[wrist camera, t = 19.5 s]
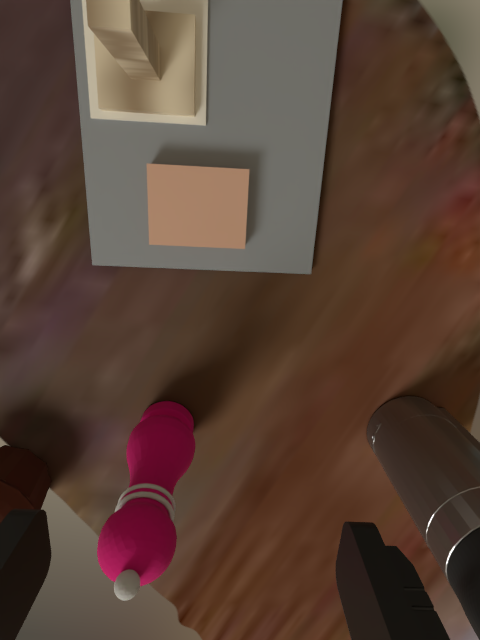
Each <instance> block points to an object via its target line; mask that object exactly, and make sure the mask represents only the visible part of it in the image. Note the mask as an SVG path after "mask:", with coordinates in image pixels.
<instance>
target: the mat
mask: <svg viewBox="0 0 480 640" xmlns="http://www.w3.org/2000/svg"><path fill="white" fill-rule="evenodd" d="M342 1H343V0H208V33H207V91H206V126H203V125H187V124H171V123H155V122H139V121H123V120H107V119H92V118H91V117H90V104H89V90H88V77H87V64H86V50H85V37H84V24H83V10H82V0H70V2H71V14H72V26H73V38H74V50H75V62H76V74H77V86H78V98H79V110H80V122H81V134H82V146H83V158H84V170H85V182H86V194H87V206H88V218H89V230H90V242H91V255H92V265H104V266H128V267H152V268H176V269H200V270H224V271H248V272H272V273H296V274H311V270H312V261H313V252H314V244H315V235H316V226H317V218H318V209H319V200H320V192H321V183H322V174H323V166H324V157H325V148H326V140H327V131H328V122H329V114H330V105H331V96H332V88H333V79H334V70H335V62H336V53H337V44H338V36H339V27H340V18H341V10H342ZM147 163H148V164H165V165H183V166H200V167H218V168H236V169H249V186H248V205H247V223H246V242H245V249H234V248H212V247H190V246H168V245H149V225H148V193H147Z"/></svg>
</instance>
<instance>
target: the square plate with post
mask: <svg viewBox="0 0 480 640" xmlns="http://www.w3.org/2000/svg"><path fill="white" fill-rule="evenodd" d="M86 8H87V22H88V27H89V28H90V29H91V30H92V32H93V33H94V46H95V62H96V77H97V93H98V108H99V109H101V110H102V111H117V112H131V113H146V114H160V115H175V116H190V117H195V74H196V16H195V14H183V13H171V12H159V11H147V10H144V9H143V7H142V5H141V3H140V0H86Z"/></svg>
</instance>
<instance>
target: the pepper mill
mask: <svg viewBox="0 0 480 640" xmlns="http://www.w3.org/2000/svg"><path fill="white" fill-rule="evenodd" d="M193 428H194V421H193V417H192V415H191V413H190V412H189V411H188V410H187V409H186V408H185V407H184V406H182V405H180V404H178V403H176V402H171V401H162V402H158V403H155V404H153V405H151V406H150V407H149V408H147V409H146V411H145V412H144V414H143V416H142V418H141V421H140V423H139V424H138V425H137V426H136V427H135V428H134V429H133V431H132V433H131V435H130V437H129V441H128V445H127V462H128V466H129V470H130V485H129V488H128V489H126V490H125V491H124V492H123V493H122V495H121V496H120V498H119V500H118V505H117V507H116V509H115V513H114V514H112V515H111V516H110V517H109V518H108V520H107V521H106V523H105V525H104V526H103V528H102V530H101V534H100V537H99V540H98V548H97V555H98V562H99V564H100V566H101V569H102V571H103V572H104V573H105V574H106V575H107V577H109V578H110V579H111V580H112V581H114V582H115V584H114V591H115V594H116V596H117V597H118V598H119V599H121V600H130V599H131V598H133V597H134V596H135V595H136V594H137V592H138V590H139V588H140V586H143V585H146V584H148V583H151V582H152V581H154V580H155V579H157V578H158V577H159V576H160V575H161V574H162V573H163V572H164V571H165V570H166V569H167V567H168V566H169V564H170V562H171V560H172V558H173V555H174V552H175V548H176V539H177V536H176V529H175V526H174V524H173V520H174V513H175V509H176V507H175V501H174V499H173V497H172V494H173V490H174V487H175V485H176V483H177V481H178V480H179V479H180V478H181V477H182V476H183V475H184V473H185V472H186V471H187V469H188V468H189V466H190V464H191V462H192V460H193V456H194V452H195V439H194V436H193Z"/></svg>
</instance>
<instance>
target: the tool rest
mask: <svg viewBox="0 0 480 640" xmlns="http://www.w3.org/2000/svg"><path fill="white" fill-rule="evenodd" d="M140 3H141V5H142V7H143V9H144V10H147V11H159V12H171V13H183V14H195V16H196V74H195V117H190V116H175V115H160V114H146V113H131V112H117V111H102V110H101V109H99V108H98V93H97V77H96V62H95V46H94V33H93V32H92V30H91V29H90V28H89V27H88V22H87V8H86V0H82V10H83V24H84V37H85V50H86V64H87V77H88V90H89V104H90V117H91V118H92V119H107V120H123V121H139V122H155V123H171V124H187V125H203V126H206V91H207V33H208V0H140Z"/></svg>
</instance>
